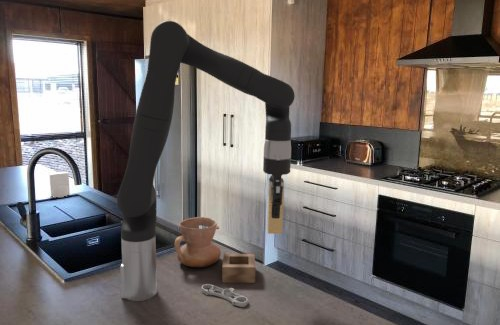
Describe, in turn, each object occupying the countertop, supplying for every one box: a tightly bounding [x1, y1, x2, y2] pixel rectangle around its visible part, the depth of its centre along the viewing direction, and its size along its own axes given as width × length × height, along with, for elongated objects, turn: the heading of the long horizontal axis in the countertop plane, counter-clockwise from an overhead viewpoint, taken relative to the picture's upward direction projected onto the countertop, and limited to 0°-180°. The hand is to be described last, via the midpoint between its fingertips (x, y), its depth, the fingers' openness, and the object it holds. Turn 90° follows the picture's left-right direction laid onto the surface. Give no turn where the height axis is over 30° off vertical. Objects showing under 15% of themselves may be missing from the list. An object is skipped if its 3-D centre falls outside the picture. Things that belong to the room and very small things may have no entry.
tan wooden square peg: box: [266, 184, 285, 235], centre depth 116 cm, size 4×4×14 cm
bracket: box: [200, 283, 249, 308], centre depth 116 cm, size 8×2×15 cm
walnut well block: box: [221, 253, 256, 284], centre depth 129 cm, size 10×10×5 cm
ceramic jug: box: [174, 216, 222, 268], centre depth 137 cm, size 18×14×14 cm
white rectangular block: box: [49, 171, 71, 198], centre depth 216 cm, size 9×9×12 cm
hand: (274, 215), depth 116 cm, fingers closed on tan wooden square peg, 4 cm apart
